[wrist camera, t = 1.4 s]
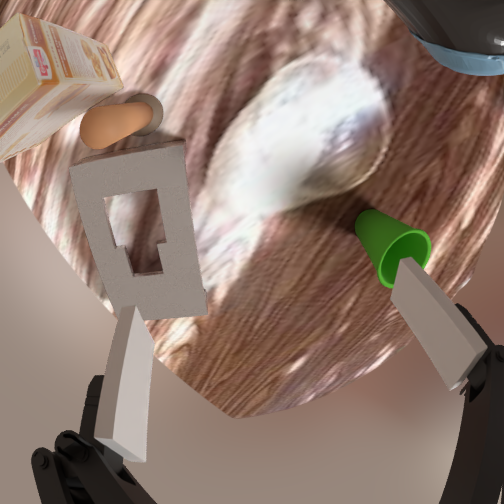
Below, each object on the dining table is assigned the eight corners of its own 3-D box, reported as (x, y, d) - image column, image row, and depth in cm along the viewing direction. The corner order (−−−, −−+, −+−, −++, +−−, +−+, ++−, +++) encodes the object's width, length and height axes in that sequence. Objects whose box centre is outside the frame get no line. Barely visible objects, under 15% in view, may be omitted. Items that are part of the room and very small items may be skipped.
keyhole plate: (82, 158, 30) (68, 167, 26) (185, 139, 32) (182, 145, 28) (124, 303, 43) (119, 321, 39) (206, 295, 44) (207, 314, 40)
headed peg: (120, 98, 27) (64, 103, 15) (161, 90, 28) (128, 85, 15) (125, 138, 30) (74, 168, 17) (165, 131, 31) (136, 155, 18)
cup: (391, 238, 44) (428, 275, 35) (345, 255, 44) (377, 297, 35) (389, 190, 39) (434, 221, 30) (339, 205, 39) (377, 242, 30)
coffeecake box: (107, 43, 23) (18, 7, 7) (125, 88, 27) (41, 86, 10) (20, 106, 24) (-82, 137, 7) (37, 147, 28) (-60, 202, 11)
